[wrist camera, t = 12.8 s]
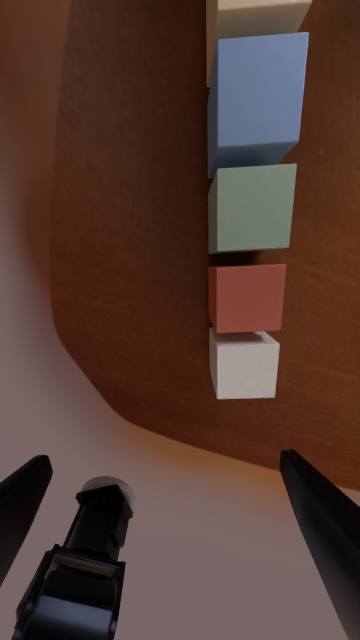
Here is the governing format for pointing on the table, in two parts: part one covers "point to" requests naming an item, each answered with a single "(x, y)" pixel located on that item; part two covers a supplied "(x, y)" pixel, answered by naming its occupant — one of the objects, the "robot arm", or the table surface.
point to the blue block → (255, 100)
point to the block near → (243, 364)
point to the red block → (246, 297)
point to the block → (250, 21)
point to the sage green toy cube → (251, 208)
